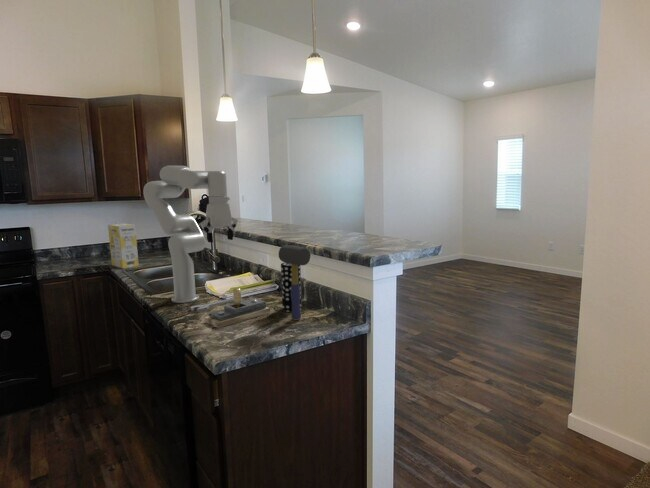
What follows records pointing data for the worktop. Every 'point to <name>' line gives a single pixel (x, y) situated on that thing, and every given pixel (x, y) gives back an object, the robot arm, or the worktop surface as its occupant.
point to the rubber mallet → (295, 272)
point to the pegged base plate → (238, 309)
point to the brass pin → (237, 297)
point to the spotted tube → (288, 286)
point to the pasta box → (123, 245)
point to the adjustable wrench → (210, 305)
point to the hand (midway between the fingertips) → (220, 240)
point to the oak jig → (236, 318)
